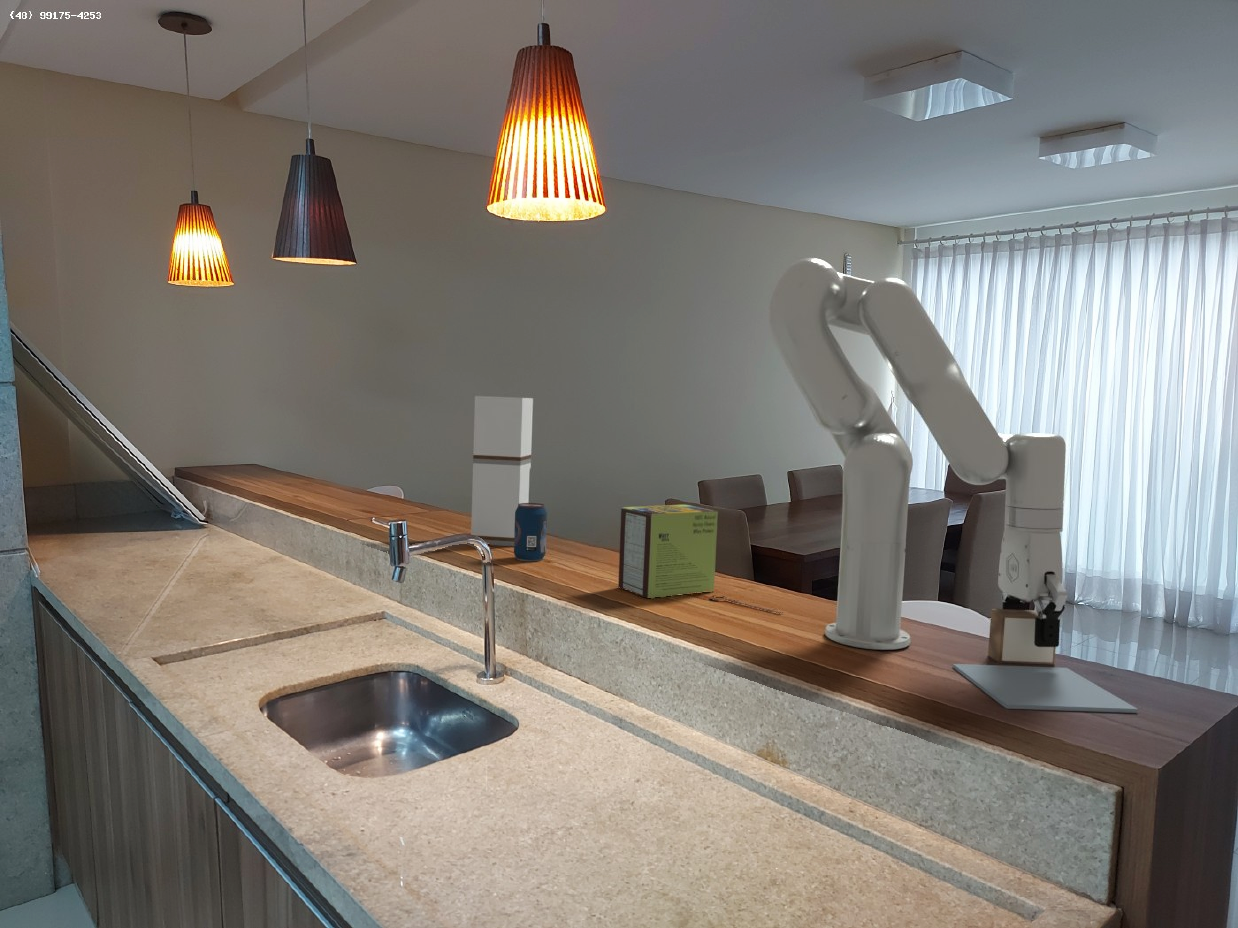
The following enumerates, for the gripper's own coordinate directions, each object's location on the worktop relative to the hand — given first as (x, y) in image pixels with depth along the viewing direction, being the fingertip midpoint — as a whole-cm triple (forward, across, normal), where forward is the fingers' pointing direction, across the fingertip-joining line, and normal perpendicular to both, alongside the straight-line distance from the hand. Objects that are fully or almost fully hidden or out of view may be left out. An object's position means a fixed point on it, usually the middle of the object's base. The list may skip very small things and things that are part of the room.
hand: (1029, 637), depth 124 cm
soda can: (0, -64, -78) cm, 101 cm away
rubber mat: (+3, +13, -5) cm, 14 cm away
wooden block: (+4, 0, -1) cm, 4 cm away
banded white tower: (0, -85, -87) cm, 122 cm away
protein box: (+2, -38, -50) cm, 63 cm away
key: (+2, -28, -36) cm, 46 cm away
